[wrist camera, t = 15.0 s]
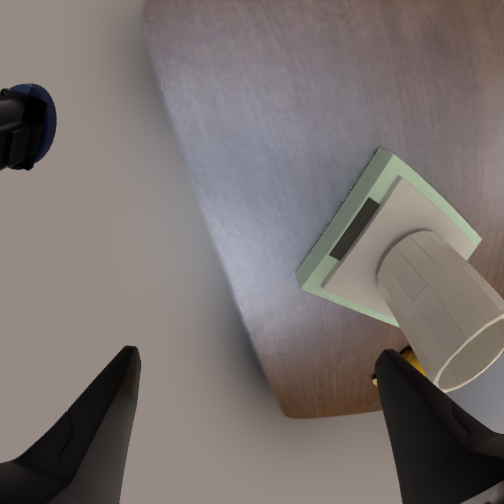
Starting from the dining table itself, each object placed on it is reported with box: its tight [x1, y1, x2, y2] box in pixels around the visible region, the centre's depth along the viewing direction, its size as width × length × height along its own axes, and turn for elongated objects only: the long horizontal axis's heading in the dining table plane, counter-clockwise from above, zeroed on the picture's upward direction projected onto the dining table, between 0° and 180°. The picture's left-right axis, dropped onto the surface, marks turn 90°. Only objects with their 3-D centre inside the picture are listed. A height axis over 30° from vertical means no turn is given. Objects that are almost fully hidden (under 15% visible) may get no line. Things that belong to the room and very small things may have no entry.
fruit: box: [372, 350, 427, 386], centre depth 31 cm, size 8×8×4 cm
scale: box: [296, 147, 482, 327], centre depth 22 cm, size 14×12×3 cm
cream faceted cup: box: [377, 231, 504, 393], centre depth 17 cm, size 7×7×10 cm
